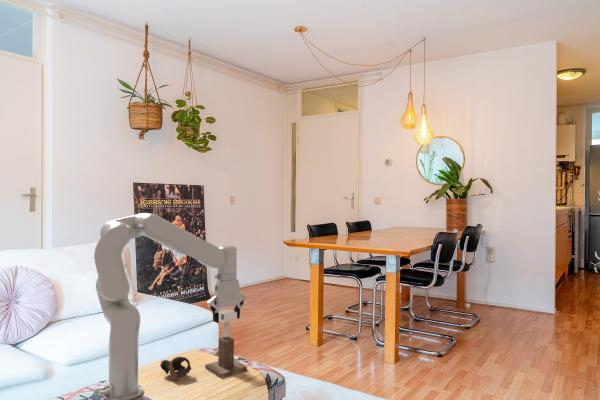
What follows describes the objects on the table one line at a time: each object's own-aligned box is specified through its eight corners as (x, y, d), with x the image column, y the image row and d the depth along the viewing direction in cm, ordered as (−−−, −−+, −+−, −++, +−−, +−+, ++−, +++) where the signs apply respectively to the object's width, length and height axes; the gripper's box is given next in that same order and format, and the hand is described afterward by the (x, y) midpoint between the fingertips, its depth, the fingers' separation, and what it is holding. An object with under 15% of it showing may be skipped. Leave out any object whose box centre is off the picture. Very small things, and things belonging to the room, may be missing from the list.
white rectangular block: (223, 353, 171) (223, 314, 171) (215, 348, 176) (216, 311, 175) (236, 349, 175) (237, 312, 175) (228, 345, 179) (229, 309, 179)
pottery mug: (192, 371, 174) (195, 357, 170) (184, 391, 166) (187, 376, 162) (162, 363, 174) (165, 349, 170) (153, 383, 165) (155, 368, 162)
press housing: (220, 378, 167) (220, 345, 167) (205, 368, 176) (205, 337, 176) (246, 370, 175) (247, 339, 174) (231, 361, 184) (231, 331, 184)
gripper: (212, 280, 166) (211, 326, 167) (250, 275, 178) (250, 318, 178) (202, 277, 172) (202, 321, 172) (240, 273, 183) (240, 314, 184)
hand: (226, 319), depth 175 cm, fingers open, 9 cm apart
